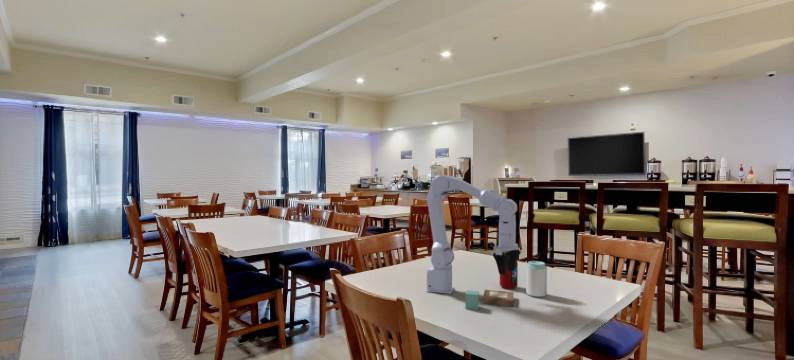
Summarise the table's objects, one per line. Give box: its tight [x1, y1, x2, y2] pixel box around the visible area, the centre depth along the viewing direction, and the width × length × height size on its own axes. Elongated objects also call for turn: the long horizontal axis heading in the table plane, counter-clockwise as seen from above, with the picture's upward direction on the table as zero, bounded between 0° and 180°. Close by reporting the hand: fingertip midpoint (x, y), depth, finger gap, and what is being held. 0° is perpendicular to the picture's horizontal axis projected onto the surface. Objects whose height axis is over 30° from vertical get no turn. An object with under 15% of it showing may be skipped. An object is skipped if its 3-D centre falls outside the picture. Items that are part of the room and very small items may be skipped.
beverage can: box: [499, 261, 519, 290], centre depth 151 cm, size 7×7×12 cm
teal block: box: [464, 289, 480, 311], centre depth 128 cm, size 4×4×5 cm
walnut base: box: [482, 289, 514, 307], centre depth 135 cm, size 10×10×2 cm
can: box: [525, 260, 548, 298], centre depth 142 cm, size 7×7×12 cm
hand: (506, 272), depth 136 cm, fingers open, 7 cm apart
